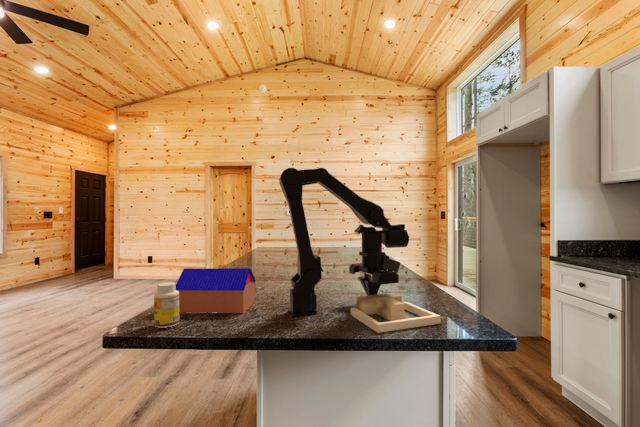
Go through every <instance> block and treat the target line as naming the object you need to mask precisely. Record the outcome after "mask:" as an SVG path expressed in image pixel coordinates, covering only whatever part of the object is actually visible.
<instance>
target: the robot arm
mask: <svg viewBox="0 0 640 427" xmlns="http://www.w3.org/2000/svg"><path fill="white" fill-rule="evenodd" d="M278 182H279V185H280V188H281V191H282V193H283V196H284V198H285V201H286V202H287V205H288V209H289V215H290V220H291V226H292V229H293V230H292V231H293V235H294V239H295V245H296V249H297V260H296V262H297V272H296V273H295V275H293V276H292V277H291V279H290V280H289V281H290V284H291V287H292V288H290V289H289V308H288V311H289V313H290V314H291V315H292V316H294V317H300V316H307V315H315V314H318V310H317V304H318V303H317V294H316V293H315V287H316V285H317V284H318V283H320V281H321V280H322V276H323V275H322V273H323V272H324V270H323V268H322V262H321V261H322V258H321V256H320V255H318V254H314V252H313V248H312V245H311V244H312V243H311V240H310V234H309V229H308V224H307V219H306V215H305V208H304V205H303V187H304V186H309V185H314V184H319V185H320V186H321V187H322V188H324V189H325V190H326V191H327V192H329V193H330V194H331V195H332V196H334V197H335V198H336V199H338V200H339V201H340V202H342V203H343V204H345V205H346V206H348V208H349V209H350V210H351V211H352V213H353V215H354V216H355V217H356V218H357V219H358V220H359V221H360V222H361V223H362V224H359V225H358V226H357V228H356V229H355V230H353V231H354V233H355V234H361V251H359V252H358V255H359V256H361V262H359V263H351V264H350V265H349V267H348V273H349V274H350V275H355V274H356V273H359V274H360V276H358V277H357V279H358V280H359V282H360V284H361V286H362V287H363V290H364V292H365V294H366V296H367V295H377V294H378V293H379V290H380V287H381V286H382V285H388V284H389V285H391V284H398V283H400V278H399V277H400V275H399V274H398V273H399V269H400V267H401V262H399V261H397V260H395V259H391V258H390V256H389V255H387V253H386V252H385V251H383V247H382V246H383V245H384V247H385V248H386V249H392V248H393V249H394V248H395V249H396V248H407V247H408V245H409V242H410V236H409V234H408V231H407V229H406V224H405V223H404V224H402V223H399V224H391V223H390V222H389V220H388V219H387V217H386V216H385V213H384V208H383V207H382V206H380V205H378V204H377V203H375V202H373V201H372V200H371V201H370V200H368V199H367V198H363V197H362V196H359V195H358V194H357V193H355V191H353V190H352V189H350V188H349V187H348V186H347V185H345V184H344V183H343V182H342V181H340V180H339V179H337V178H336V177H335V176H333V174H331V173H330V172H329V171H328V170H327V169H326V168H325V167H319V168H313V169H311V168H310V169H307V168H306V169H297V168H295V167H287V168H285V169H284V170H283V171H282V173H281V175H280V176H279V180H278ZM365 225H366V226H365ZM367 225H368V226H367ZM377 229H378V230H377ZM379 229H381V230H379Z"/></svg>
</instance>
